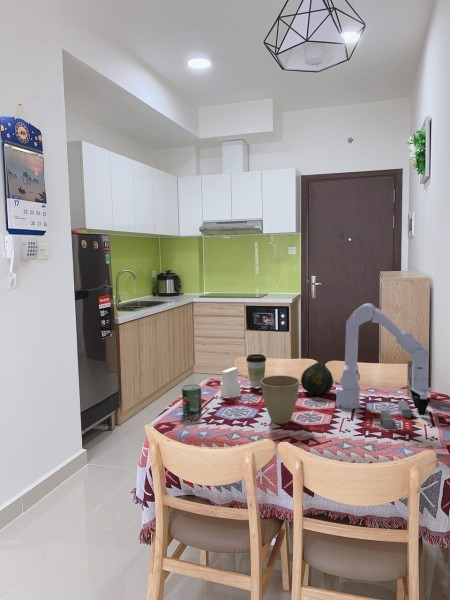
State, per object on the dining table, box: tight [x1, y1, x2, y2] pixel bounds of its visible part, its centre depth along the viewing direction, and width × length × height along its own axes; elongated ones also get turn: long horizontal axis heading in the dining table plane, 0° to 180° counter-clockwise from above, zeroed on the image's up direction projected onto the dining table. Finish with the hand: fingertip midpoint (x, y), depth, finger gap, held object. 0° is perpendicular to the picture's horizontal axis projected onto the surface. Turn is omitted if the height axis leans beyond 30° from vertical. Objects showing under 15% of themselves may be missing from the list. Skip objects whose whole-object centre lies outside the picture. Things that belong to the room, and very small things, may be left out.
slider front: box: [380, 409, 394, 429], centre depth 168 cm, size 3×10×3 cm, turn 167°
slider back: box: [397, 400, 412, 418], centre depth 178 cm, size 3×10×3 cm, turn 167°
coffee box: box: [406, 360, 413, 401], centre depth 195 cm, size 9×6×16 cm
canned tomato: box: [181, 384, 203, 416], centre depth 190 cm, size 8×8×11 cm
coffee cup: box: [245, 353, 267, 387], centre depth 224 cm, size 10×10×15 cm
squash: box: [300, 361, 334, 396], centre depth 211 cm, size 14×15×15 cm
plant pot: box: [260, 374, 300, 425], centre depth 177 cm, size 15×15×16 cm
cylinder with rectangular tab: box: [220, 366, 241, 398], centre depth 211 cm, size 9×9×12 cm
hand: (419, 411), depth 177 cm, fingers open, 7 cm apart
